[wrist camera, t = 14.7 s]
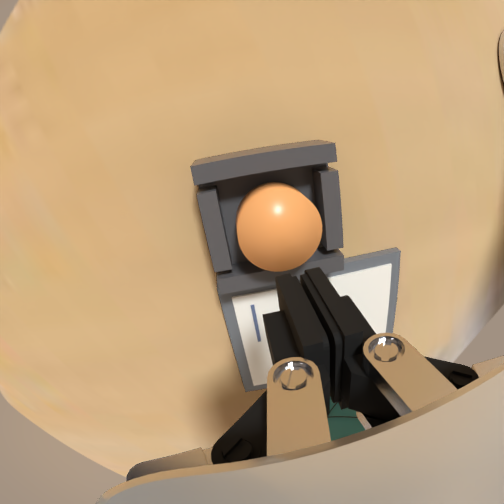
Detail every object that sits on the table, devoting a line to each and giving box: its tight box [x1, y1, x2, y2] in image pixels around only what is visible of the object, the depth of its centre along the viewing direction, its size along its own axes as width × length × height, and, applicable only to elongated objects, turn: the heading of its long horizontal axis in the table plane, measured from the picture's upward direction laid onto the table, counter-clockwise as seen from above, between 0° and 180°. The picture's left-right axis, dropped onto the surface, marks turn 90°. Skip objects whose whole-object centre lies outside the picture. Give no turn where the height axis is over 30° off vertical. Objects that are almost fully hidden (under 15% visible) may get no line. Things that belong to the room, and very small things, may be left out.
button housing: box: [190, 140, 344, 295], centre depth 21 cm, size 9×9×4 cm
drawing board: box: [217, 247, 401, 392], centre depth 27 cm, size 16×13×1 cm
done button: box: [236, 182, 322, 272], centre depth 19 cm, size 5×5×2 cm
